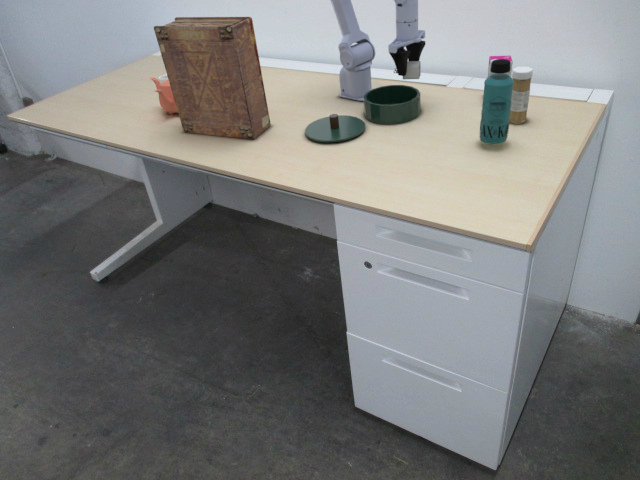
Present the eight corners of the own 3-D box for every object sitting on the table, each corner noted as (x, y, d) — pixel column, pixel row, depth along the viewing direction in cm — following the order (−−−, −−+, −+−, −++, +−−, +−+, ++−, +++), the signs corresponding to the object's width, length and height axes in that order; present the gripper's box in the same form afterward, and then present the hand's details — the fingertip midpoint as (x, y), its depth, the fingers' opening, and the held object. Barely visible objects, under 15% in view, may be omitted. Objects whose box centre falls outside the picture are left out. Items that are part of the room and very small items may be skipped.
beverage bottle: (474, 140, 126) (480, 58, 114) (501, 137, 126) (509, 54, 114) (484, 152, 120) (490, 67, 109) (512, 148, 120) (521, 63, 109)
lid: (338, 149, 131) (337, 133, 128) (293, 136, 140) (290, 121, 138) (377, 125, 140) (376, 109, 137) (332, 115, 149) (330, 100, 147)
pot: (399, 128, 137) (398, 109, 133) (354, 118, 146) (352, 99, 143) (430, 108, 145) (430, 89, 142) (386, 99, 154) (385, 81, 151)
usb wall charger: (418, 79, 139) (418, 65, 137) (393, 80, 141) (392, 65, 139) (420, 74, 142) (420, 60, 140) (395, 75, 144) (395, 61, 142)
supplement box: (508, 102, 142) (513, 61, 135) (486, 103, 143) (489, 62, 136) (506, 95, 146) (510, 54, 140) (485, 96, 148) (488, 55, 141)
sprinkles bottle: (517, 115, 135) (523, 64, 127) (530, 121, 131) (537, 68, 123) (503, 120, 133) (508, 68, 125) (516, 126, 130) (522, 73, 122)
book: (183, 132, 152) (152, 26, 135) (201, 119, 159) (174, 17, 141) (254, 140, 141) (231, 26, 124) (271, 126, 148) (251, 16, 130)
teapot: (208, 111, 163) (200, 77, 157) (164, 122, 160) (153, 88, 154) (201, 97, 175) (192, 65, 168) (159, 107, 172) (149, 75, 165)
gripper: (404, 28, 127) (405, 82, 135) (435, 13, 135) (434, 65, 143) (381, 26, 131) (383, 79, 139) (412, 12, 139) (412, 62, 147)
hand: (407, 72), depth 141 cm, fingers closed on usb wall charger, 5 cm apart
